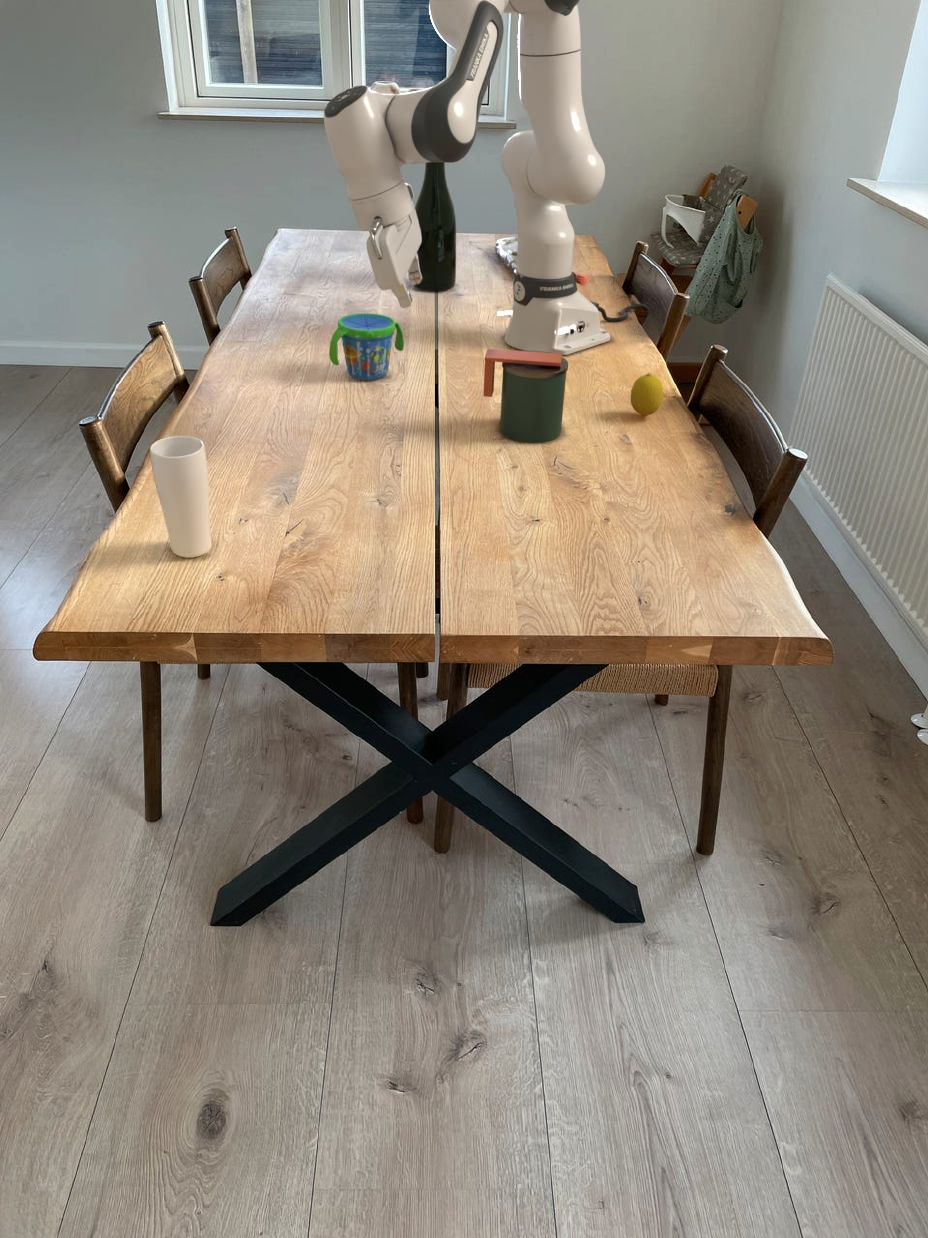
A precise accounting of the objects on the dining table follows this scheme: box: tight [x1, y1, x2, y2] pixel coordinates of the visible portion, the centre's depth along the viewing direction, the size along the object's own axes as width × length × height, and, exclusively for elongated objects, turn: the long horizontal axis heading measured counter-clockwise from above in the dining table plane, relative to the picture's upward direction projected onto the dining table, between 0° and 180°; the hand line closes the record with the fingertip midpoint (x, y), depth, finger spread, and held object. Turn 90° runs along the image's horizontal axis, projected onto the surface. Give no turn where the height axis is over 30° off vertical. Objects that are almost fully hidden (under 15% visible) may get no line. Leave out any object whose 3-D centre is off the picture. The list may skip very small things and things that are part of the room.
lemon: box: [630, 372, 664, 418], centre depth 173 cm, size 6×6×8 cm
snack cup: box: [328, 312, 405, 381], centre depth 186 cm, size 16×10×10 cm
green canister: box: [499, 351, 569, 444], centre depth 166 cm, size 11×11×12 cm
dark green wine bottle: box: [412, 162, 457, 292], centre depth 228 cm, size 10×10×33 cm
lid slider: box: [483, 348, 563, 398], centre depth 164 cm, size 12×4×7 cm, turn 82°
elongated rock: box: [494, 236, 518, 277], centre depth 254 cm, size 35×5×10 cm
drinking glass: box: [149, 435, 213, 559], centre depth 129 cm, size 7×7×15 cm
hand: (412, 293), depth 159 cm, fingers open, 8 cm apart
